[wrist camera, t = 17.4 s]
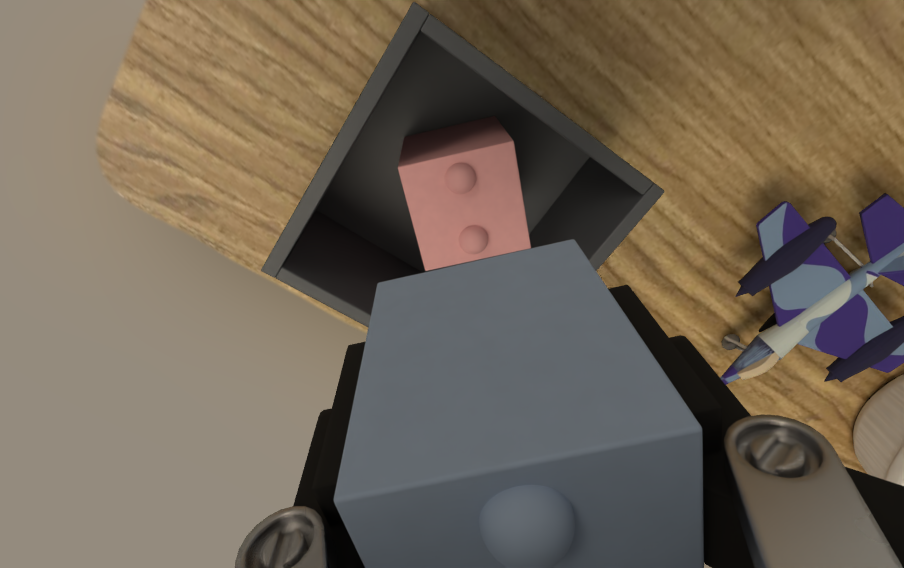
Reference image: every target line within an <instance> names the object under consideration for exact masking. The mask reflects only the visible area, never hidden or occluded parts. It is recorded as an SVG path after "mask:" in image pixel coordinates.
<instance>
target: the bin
mask: <svg viewBox="0 0 904 568" xmlns="http://www.w3.org/2000/svg"><path fill="white" fill-rule="evenodd" d="M492 116H495V117H496V118H497V119H498V121H499V122H500V124H501V125H502V126H503V128H504V129H505V130H506V132H507V133H508V134H509V136H510V137H511V138H512V140H513V141H514V145H515V152H516V158H517V164H518V170H519V176H520V182H521V189H522V195H523V201H524V207H525V213H526V220H527V226H528V232H529V238H530V244H531V248H535V247H540V246H544V245H549V244H553V243H558V242H562V241H567V240H571V239H574V240H575V241H576V243H577V244H578V245H579V247H580V248H581V250H582V251H583V253H584V254H585V256H586V257H587V259H588V260H589V262H590V263H591V265H592V266H593V268H594V269H595V271H597V269H598V268H599V267H600V266H601V265H602V264H603V263H604V261H605V260H606V259H607V258H608V257H609V256H610V254H611V253H612V252H613V251H614V250H615V249H616V248H617V246H618V245H619V244H620V243H621V242H622V241H623V239H624V238H625V237H626V236H627V235H628V234H629V233H630V231H631V230H632V229H633V228H634V227H635V226H636V224H637V223H638V222H639V221H640V220H641V219H642V218H643V216H644V215H645V214H646V213H647V212H648V211H649V209H650V208H651V207H652V206H653V205H654V204H655V203H656V201H657V200H658V199H659V198H660V197H661V196H662V194H663V193H664V190H663V189H662V188H660V187H659V186H658V185H656V184H655V183H654V182H652V181H651V180H650V179H648V178H647V177H646V176H644V175H643V174H642V173H640V172H639V171H638V170H636V169H635V168H634V167H632V166H631V165H630V164H629V163H627V162H626V161H625V160H623V159H622V158H621V157H619V156H618V155H617V154H615V153H614V152H613V151H611V150H610V149H609V148H607V147H606V146H605V145H603V144H602V143H601V142H599V141H598V140H597V139H595V138H594V137H593V136H591V135H590V134H589V133H588V132H586V131H585V130H584V129H582V128H581V127H580V126H578V125H577V124H576V123H574V122H573V121H572V120H570V119H569V118H568V117H566V116H565V115H564V114H562V113H561V112H560V111H558V110H557V109H556V108H554V107H553V106H552V105H550V104H549V103H548V102H547V101H545V100H544V99H543V98H541V97H540V96H539V95H537V94H536V93H535V92H533V91H532V90H531V89H529V88H528V87H527V86H525V85H524V84H523V83H521V82H520V81H519V80H517V79H516V78H515V77H513V76H512V75H511V74H509V73H508V72H507V71H506V70H504V69H503V68H502V67H500V66H499V65H498V64H496V63H495V62H494V61H492V60H491V59H490V58H488V57H487V56H486V55H484V54H483V53H482V52H480V51H479V50H478V49H476V48H475V47H474V46H472V45H471V44H470V43H468V42H467V41H466V40H464V39H463V38H462V37H461V36H459V35H458V34H457V33H455V32H454V31H453V30H451V29H450V28H449V27H447V26H446V25H445V24H443V23H442V22H441V21H439V20H438V19H437V18H435V17H434V16H433V15H431V14H429V12H427V11H426V10H425V9H424V8H422V7H421V6H420V5H418V4H417V3H416V2H413V3H412V5H411V7H410V8H409V10H408V12H407V14H406V16H405V17H404V19H403V21H402V23H401V24H400V26H399V28H398V30H397V31H396V33H395V35H394V37H393V38H392V40H391V42H390V44H389V45H388V47H387V49H386V51H385V53H384V54H383V56H382V58H381V60H380V61H379V63H378V65H377V67H376V68H375V70H374V72H373V74H372V75H371V77H370V79H369V81H368V82H367V84H366V86H365V88H364V90H363V91H362V93H361V95H360V97H359V98H358V100H357V102H356V104H355V105H354V107H353V109H352V111H351V112H350V114H349V116H348V118H347V119H346V121H345V123H344V125H343V127H342V128H341V130H340V132H339V134H338V135H337V137H336V139H335V141H334V142H333V144H332V146H331V148H330V149H329V151H328V153H327V155H326V156H325V158H324V160H323V162H322V163H321V165H320V167H319V169H318V171H317V172H316V174H315V176H314V178H313V179H312V181H311V183H310V185H309V186H308V188H307V190H306V192H305V193H304V195H303V197H302V199H301V200H300V202H299V204H298V206H297V208H296V209H295V211H294V213H293V215H292V216H291V218H290V220H289V222H288V223H287V225H286V227H285V229H284V230H283V232H282V234H281V236H280V237H279V239H278V241H277V243H276V245H275V246H274V248H273V250H272V252H271V253H270V255H269V257H268V259H267V260H266V262H265V264H264V266H263V267H262V269H261V271H263V272H264V273H266V274H268V275H270V276H272V277H274V278H275V277H276V279H278V280H280V281H282V282H284V283H286V284H288V285H289V286H291V287H293V288H295V289H297V290H299V291H301V292H303V293H305V294H306V295H308V296H310V297H312V298H314V299H316V300H318V301H320V302H321V303H323V304H325V305H327V306H329V307H331V308H333V309H335V310H337V311H338V312H340V313H342V314H344V315H346V316H348V317H350V318H352V319H354V320H355V321H357V322H359V323H361V324H363V325H365V326H367V327H369V323H370V318H371V313H372V308H373V303H374V298H375V293H376V288H377V284H378V283H380V282H384V281H389V280H393V279H397V278H402V277H406V276H411V275H415V274H420V273H424V272H429V271H433V270H438V269H442V268H446V267H442V268H438V269H433V270H428V271H426V270H425V268H424V264H423V260H422V257H421V253H420V249H419V245H418V242H417V238H416V234H415V231H414V227H413V223H412V219H411V216H410V212H409V208H408V205H407V201H406V197H405V193H404V190H403V186H402V182H401V178H400V175H399V171H398V164H399V160H400V155H401V150H402V145H403V140H404V137H406V136H410V135H415V134H419V133H423V132H428V131H432V130H436V129H440V128H445V127H449V126H453V125H458V124H462V123H466V122H470V121H475V120H479V119H483V118H488V117H492ZM531 248H530V249H531ZM525 250H527V249H525ZM520 251H522V250H520ZM516 252H518V251H516ZM511 253H513V252H511ZM507 254H509V253H507ZM502 255H504V254H502ZM497 256H500V255H497ZM493 257H495V256H493ZM488 258H491V257H488ZM484 259H486V258H484ZM479 260H482V259H479ZM474 261H478V260H474ZM470 262H473V261H470ZM465 263H469V262H465ZM461 264H464V263H461ZM456 265H460V264H456ZM451 266H455V265H451ZM451 266H447V267H451Z"/></svg>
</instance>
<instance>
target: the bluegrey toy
mask: <svg viewBox="0 0 904 568" xmlns="http://www.w3.org/2000/svg"><path fill="white" fill-rule="evenodd" d="M334 503H335V506H336V508H337V510H338V512H339V514H340V516H341V518H342V520H343V522H344V524H345V527H346V529H347V531H348V533H349V535H350V537H351V539H352V541H353V543H354V545H355V548H356V550H357V552H358V554H359V556H360V558H361V560H362V562H363V564H364V566H365V568H704V532H703V443H702V427H701V426H700V424H699V423H698V421H697V420H696V418H695V417H694V415H693V414H692V412H691V411H690V409H689V408H688V406H687V405H686V403H685V402H684V400H683V399H682V397H681V396H680V395H679V393H678V392H677V390H676V389H675V387H674V386H673V384H672V383H671V381H670V380H669V378H668V377H667V375H666V374H665V372H664V371H663V369H662V368H661V366H660V365H659V364H658V362H657V361H656V359H655V358H654V356H653V355H652V353H651V352H650V350H649V349H648V347H647V346H646V344H645V343H644V341H643V340H642V338H641V337H640V336H639V334H638V333H637V331H636V330H635V328H634V327H633V325H632V324H631V322H630V321H629V319H628V318H627V316H626V315H625V313H624V312H623V310H622V309H621V307H620V306H619V305H618V303H617V302H616V300H615V299H614V297H613V296H612V294H611V293H610V291H609V290H608V288H607V287H606V285H605V284H604V282H603V281H602V279H601V278H600V276H599V275H598V274H597V272H596V271H595V269H594V268H593V266H592V265H591V263H590V262H589V260H588V259H587V257H586V256H585V254H584V253H583V251H582V250H581V248H580V247H579V245H578V244H577V243H576V241H575V240H574V239H571V240H567V241H562V242H558V243H553V244H549V245H544V246H540V247H535V248H531V249H527V250H522V251H518V252H513V253H509V254H504V255H500V256H495V257H491V258H486V259H482V260H478V261H473V262H469V263H464V264H460V265H455V266H451V267H446V268H442V269H438V270H433V271H429V272H424V273H420V274H415V275H411V276H406V277H402V278H397V279H393V280H389V281H384V282H380V283H378V284H377V288H376V293H375V298H374V303H373V308H372V313H371V318H370V323H369V328H368V333H367V338H366V342H365V347H364V352H363V357H362V362H361V367H360V372H359V377H358V382H357V387H356V392H355V396H354V401H353V406H352V411H351V416H350V421H349V426H348V431H347V436H346V441H345V446H344V450H343V455H342V460H341V465H340V470H339V475H338V480H337V485H336V490H335V495H334Z"/></svg>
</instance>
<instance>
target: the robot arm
mask: <svg viewBox="0 0 904 568" xmlns="http://www.w3.org/2000/svg"><path fill="white" fill-rule="evenodd" d="M608 290H609V291H610V293H611V294H612V296H613V297H614V299H615V300H616V302H617V303H618V305H619V306H620V307H621V309H622V310H623V312H624V313H625V315H626V316H627V318H628V319H629V321H630V322H631V324H632V325H633V327H634V328H635V330H636V331H637V333H638V334H639V336H640V337H641V338H642V340H643V341H644V343H645V344H646V346H647V347H648V349H649V350H650V352H651V353H652V355H653V356H654V358H655V359H656V361H657V362H658V364H659V365H660V366H661V368H662V369H663V371H664V372H665V374H666V375H667V377H668V378H669V380H670V381H671V383H672V384H673V386H674V387H675V389H676V390H677V392H678V393H679V395H680V396H681V397H682V399H683V400H684V402H685V403H686V405H687V406H688V408H689V409H690V411H691V412H692V414H693V415H694V417H695V418H696V420H697V421H698V423H699V424H700V426H701V427H702V443H703V532H704V563H705V564H706V565H708V566H710V567H712V568H904V486H902V485H899V484H896V483H893V482H890V481H887V480H884V479H881V478H878V477H875V476H871V475H868V474H865V473H862V472H859V471H856V470H853V469H850V468H847V467H844V465H843V464H842V462H841V460H840V458H839V457H838V455H837V453H836V451H835V450H834V448H833V447H832V445H831V444H830V443H829V442H828V440H827V439H826V438H825V437H824V436H823V435H822V434H820V433H819V432H818V431H816V430H815V429H813V428H812V427H810V426H808V425H806V424H804V423H801V422H799V421H797V420H794V419H790V418H786V417H782V416H777V415H756V416H751V415H750V414H749V413H748V412H747V410H746V409H745V408H744V407H743V405H742V404H741V403H740V402H739V401H738V399H737V398H736V397H735V396H734V395H733V393H732V392H731V391H730V390H729V388H728V387H727V386H726V385H725V384H724V382H723V381H722V380H721V379H720V378H719V376H718V375H717V374H716V373H715V371H714V370H713V369H712V368H711V367H710V365H709V364H708V363H707V362H706V361H705V359H704V358H703V357H702V356H701V354H700V353H699V352H698V351H697V350H696V348H695V347H694V346H693V345H692V344H691V342H690V341H689V340H688V339H687V338H686V337H685V336H681V335H680V336H675V337H671V338H668V336H667V335H666V334H665V332H664V331H663V330H662V328H661V327H660V326H659V325H658V323H657V322H656V321H655V319H654V318H653V317H652V315H651V314H650V313H649V312H648V310H647V309H646V308H645V306H644V305H643V304H642V302H641V301H640V300H639V298H638V297H637V296H636V295H635V293H634V292H633V291H632V289H631V288H630V287H629V286H628V285H624V286H619V287H614V288H610V289H608ZM364 347H365V342H362V343H357V344H352V345H349V346H348V348H347V351H346V355H345V359H344V364H343V368H342V371H341V375H340V379H339V383H338V387H337V391H336V395H335V399H334V403H333V406H332V409H327V410H323V411H322V412H321V413H320V415H319V417H318V421H317V424H316V428H315V431H314V435H313V438H312V442H311V446H310V449H309V453H308V456H307V460H306V463H305V467H304V470H303V474H302V477H301V481H300V484H299V488H298V492H297V495H296V498H295V502H294V506H293V507H289V508H285V509H281V510H279V511H277V512H275V513H273V514H272V515H270V516H268V517H267V518H265V519H264V520H263V521H262V522H260V523H259V524H257V525H256V526H255V527H254V529H253V530H252V531H251V532H250V533H249V534H248V535H247V536H246V538H245V540H244V542H243V543H242V545H241V547H240V548H239V551H238V555H237V558H236V562H235V568H365V566H364V564H363V562H362V560H361V558H360V556H359V554H358V552H357V550H356V548H355V545H354V543H353V541H352V539H351V537H350V535H349V533H348V531H347V529H346V527H345V524H344V522H343V520H342V518H341V516H340V514H339V512H338V510H337V508H336V506H335V503H334V495H335V490H336V485H337V480H338V475H339V470H340V465H341V460H342V455H343V450H344V446H345V441H346V436H347V431H348V426H349V421H350V416H351V411H352V406H353V401H354V396H355V392H356V387H357V382H358V377H359V372H360V367H361V362H362V357H363V352H364Z"/></svg>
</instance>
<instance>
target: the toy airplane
mask: <svg viewBox="0 0 904 568" xmlns="http://www.w3.org/2000/svg"><path fill="white" fill-rule="evenodd" d="M859 214H860V218H861V222H862V227H863V231H864V236H865V240H866V244H867V249H868V253H869V257H870V262H868V263H867V264H865V265H864V264H863V263H862V262H860V261H859V260H858V259H857V258H856V257H855V256H854V255H853V254H852V253H851V252H850V251H849V250H848V249H847V248H846V247H845V246H844V245H843V244H842V243H841V242H840V241H839V240H838V239H837V238H835V237H836V230H835V228H836V221H835V220H834V219H833V218H831V217H822V218H820V219H818V220H816V221H814V222H813V223H811V224H809V225H808V224H807V223H806V222H805V221H804V220H803V218H802V217H801V216H800V215H799V213H798V212H797V211H796V210H795V209H794V207H793V206H792V205H791V204H790V203H789V202H786V201H784V202H781V203H780V204H779V205H778V206H777V207H775V208H774V209H773V210H772V211H771V212H769V213H768V214H767V215H766V216H765V217H763V218H762V219H761V220H760V221H759V222H758V223H757V225H756V227H757V232H758V236H759V241H760V246H761V251H762V255H763V257H762V258H761V259H760V260H759V261H758V262H757V263H756V264H755V265H754V267H753V268H752V269H751V270H750V271H749V272H748V273H747V274H746V275H745V276H744V277H743V278H742V279H741V280H740V281H738V283H739V284H740V285H741V287H740V289H739V291H738V293H737V295H736V296H735V297H737V296H740V295H743V294H746V293H749V294H751V295H752V296H754V295H755V294H756V293H757V292H759V291H761V290H762V289H764V288H766V287H768V286H769V289H770V293H771V298H772V303H773V307H774V312H775V313H774V314H773V315H772V316H771V317H770V318H769V319H768V320H767V321H766V322H765V323H764V325H763V326H762V327H761V328H760V329H759V332H762V331H764V330H765V331H764V332H762V333H760V334H758V335H757V336H756V337H755V338H754V340H753V341H752V342H751V343H750V344H749V345H748V346H745V345H743V344H741V343H740V338H739V337H738V336H737V335H735V334H729V335H727V336H725V337H724V338H723V340H722V346H723V348H725V349H727V350H732V349H735V348H737V349H739V350H741V351H743V352H742V353H741V354H740V356H739V357H738V358H737V359H736V360H735V361H734V363H733V364H732V365H731V366H730V367H729V368H728V369H727V371H726V372H725V373H724V374H723V375H722V376H721V377H720V379H721V380H722V381H723V382H724V384H725V385H726V384H728V383H730V382H732V381H734V380H737V379H739V378H742V379H743V380H745V379H748V378H751V377H754V376H758V375H760V374H762V373H764V372H766V371H768V370H769V369H770V368H771V367H773V365H774V364H775V363H776V362H777V361H778V360H780V359H782V358H783V357H784V356H785V355H786V354H787V353H788V352H789V351H790V350H791V349H792V348H793V347H794V346H795V345H796V344H799V345H802V346H805V347H809V348H812V349H815V350H818V351H821V352H824V353H827V354H830V355H834V356H837V357H838V358H837V359H836V360H835V361H834V362H833V363H832V364H831V365H830V366H828V367H827V368H826V369H827V370H828V371H829V374H828V376H827V377H826V379H825V381H830V380H834V379H838V380H839V381H840V382H842V381H844V380H845V379H847V378H849V377H851V376H853V375H855V374H857V373H859V372H861V371H863V370H865V369H867V368H869V367H871V368H874V369H877V370H880V371H883V372H886V373H888V372H891V371H892V370H894V369H895V368H897V367H898V366H900V365H901V364H903V363H904V316H903V317H900V318H898V319H896V320H894V321H891V322H889V321H888V320H887V319H886V318H885V316H884V315H883V314H882V313H881V311H880V310H879V309H878V308H877V307H876V305H875V304H874V303H873V302H872V300H871V299H870V298H869V297H868V296H867V294H866V293H865V292H864V291H863V289H864V288H865V287H866V286H868V285H869V286H870V287H873V281H874V280H875V279H876V278H878V277H879V276H880V275H883V276H885V277H887V278H889V279H891V280H893V281H895V282H897V283H899V284H901V285H903V286H904V208H903V207H902V206H901V205H899V204H898V203H897V202H896V201H895V200H894V199H893V198H891V197H890V196H889V195H888V194H886V193H884V194H883V195H882V196H880V197H879V198H878V199H877V200H875V201H874V202H873V203H871V204H870V205H869V206H867V207H866V208H865V209H863V210H862V211H861V212H860V213H859ZM832 240H833V241H834V242H835V243H836V244H837V245H838V246H839V247H840V248H841V249H842V250H844V251H845V252H846V253H847V254H848V255H849V256H850V257H851V258H852V259H853V260H854V261H855V262H856V263H857V264H858V265H859V266H860V267H861V268H859V269H855V270H853V271H851V272H850V273H849V274H848V273H847V272H846V271H845V269H844V268H843V267H842V266H841V265H840V263H839V262H838V261H837V260H836V258H835V257H834V256H833V255H832V254H831V252H830V251H829V250H828V249H827V248H826V246H825V245H824V244H825V243H829V242H830V241H832ZM770 327H771V328H770ZM768 328H769V329H768ZM766 329H767V330H766ZM742 347H743V348H745V349H743V348H742ZM825 381H824V382H825Z"/></svg>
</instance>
